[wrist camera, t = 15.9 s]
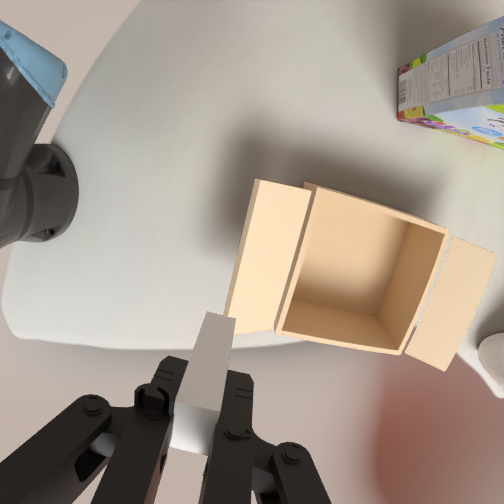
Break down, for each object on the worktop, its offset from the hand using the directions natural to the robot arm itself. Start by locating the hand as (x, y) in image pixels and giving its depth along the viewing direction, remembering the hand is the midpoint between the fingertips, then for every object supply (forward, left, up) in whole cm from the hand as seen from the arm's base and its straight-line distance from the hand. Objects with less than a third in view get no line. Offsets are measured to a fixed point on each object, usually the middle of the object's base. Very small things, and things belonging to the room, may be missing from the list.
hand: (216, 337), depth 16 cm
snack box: (+26, +25, -26) cm, 44 cm away
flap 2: (+25, 0, -14) cm, 28 cm away
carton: (+14, 0, -26) cm, 29 cm away
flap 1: (+3, 0, -14) cm, 14 cm away
